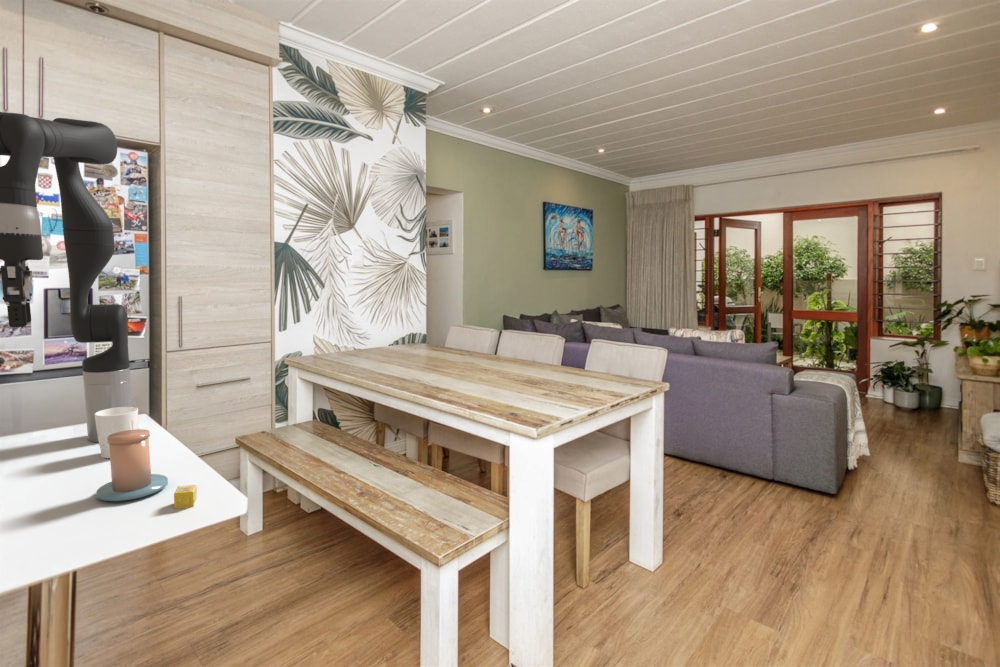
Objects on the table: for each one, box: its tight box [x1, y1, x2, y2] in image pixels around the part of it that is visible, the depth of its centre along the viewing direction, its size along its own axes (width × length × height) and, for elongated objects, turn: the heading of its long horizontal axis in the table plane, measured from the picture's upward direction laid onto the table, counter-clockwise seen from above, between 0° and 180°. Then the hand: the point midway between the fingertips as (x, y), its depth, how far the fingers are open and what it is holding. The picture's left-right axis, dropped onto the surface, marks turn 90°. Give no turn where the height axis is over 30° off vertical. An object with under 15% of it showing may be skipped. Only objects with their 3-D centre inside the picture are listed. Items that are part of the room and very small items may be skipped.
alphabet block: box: [173, 484, 198, 510], centre depth 91 cm, size 3×3×3 cm
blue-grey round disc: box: [95, 473, 169, 502], centre depth 96 cm, size 11×11×1 cm
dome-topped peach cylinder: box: [107, 428, 152, 492], centre depth 96 cm, size 6×6×10 cm
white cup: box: [95, 406, 139, 459], centre depth 115 cm, size 8×8×10 cm
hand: (20, 324), depth 90 cm, fingers open, 8 cm apart
